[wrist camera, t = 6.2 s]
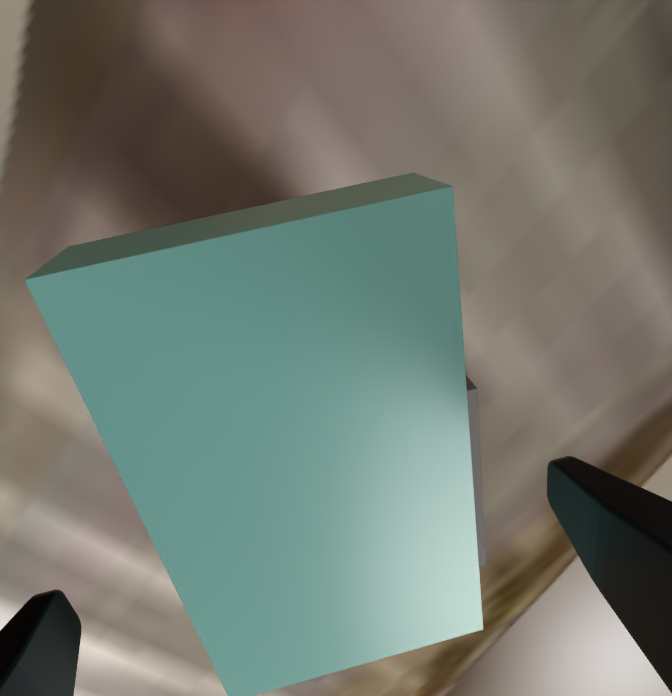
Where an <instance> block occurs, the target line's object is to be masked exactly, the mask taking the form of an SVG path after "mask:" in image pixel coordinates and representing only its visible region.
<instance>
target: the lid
mask: <svg viewBox="0 0 672 696" xmlns="http://www.w3.org/2000/svg"><path fill="white" fill-rule="evenodd" d="M25 281H26V283H27V286H28V288H29V290H30V292H31V294H32V296H33V298H34V300H35V302H36V304H37V306H38V308H39V310H40V312H41V314H42V316H43V318H44V320H45V322H46V324H47V326H48V329H49V331H50V333H51V335H52V337H53V339H54V341H55V343H56V345H57V347H58V349H59V351H60V353H61V355H62V357H63V359H64V361H65V363H66V365H67V367H68V369H69V372H70V374H71V376H72V378H73V380H74V382H75V384H76V386H77V388H78V390H79V392H80V394H81V396H82V398H83V400H84V402H85V404H86V406H87V408H88V410H89V412H90V414H91V417H92V419H93V421H94V423H95V425H96V427H97V429H98V431H99V433H100V435H101V437H102V439H103V441H104V443H105V445H106V447H107V449H108V451H109V453H110V455H111V457H112V460H113V462H114V464H115V466H116V468H117V470H118V472H119V474H120V476H121V478H122V480H123V482H124V484H125V486H126V488H127V490H128V492H129V494H130V496H131V498H132V500H133V503H134V505H135V507H136V509H137V511H138V513H139V515H140V517H141V519H142V521H143V523H144V525H145V527H146V529H147V531H148V533H149V535H150V537H151V539H152V541H153V543H154V545H155V548H156V550H157V552H158V554H159V556H160V558H161V560H162V562H163V564H164V566H165V568H166V570H167V572H168V574H169V576H170V578H171V580H172V582H173V584H174V586H175V588H176V591H177V593H178V595H179V597H180V599H181V601H182V603H183V605H184V607H185V609H186V611H187V613H188V615H189V617H190V619H191V621H192V623H193V625H194V627H195V629H196V631H197V634H198V636H199V638H200V640H201V642H202V644H203V646H204V648H205V650H206V652H207V654H208V656H209V658H210V660H211V662H212V664H213V666H214V668H215V670H216V672H217V674H218V676H219V679H220V681H221V683H222V685H223V687H224V689H225V691H226V693H227V695H228V696H253V695H257V694H260V693H264V692H267V691H271V690H274V689H278V688H281V687H285V686H288V685H292V684H295V683H299V682H302V681H306V680H309V679H312V678H316V677H319V676H323V675H326V674H330V673H333V672H337V671H340V670H344V669H347V668H351V667H354V666H358V665H361V664H365V663H368V662H371V661H375V660H378V659H382V658H385V657H389V656H392V655H396V654H399V653H403V652H406V651H410V650H413V649H417V648H420V647H424V646H427V645H430V644H434V643H437V642H441V641H444V640H448V639H451V638H455V637H458V636H462V635H465V634H469V633H472V632H476V631H479V630H483V621H482V606H481V591H480V577H479V562H478V547H477V533H476V518H475V504H474V489H473V474H472V460H471V445H470V431H469V416H468V401H467V387H466V372H465V358H464V343H463V328H462V314H461V299H460V285H459V270H458V255H457V241H456V226H455V211H454V197H453V186H450V185H448V184H445V183H442V182H439V181H436V180H433V179H430V178H427V177H424V176H421V175H419V174H416V173H409V174H404V175H400V176H395V177H390V178H386V179H381V180H376V181H372V182H367V183H362V184H358V185H353V186H348V187H344V188H339V189H334V190H330V191H325V192H320V193H316V194H311V195H307V196H302V197H297V198H293V199H288V200H283V201H279V202H274V203H269V204H265V205H260V206H255V207H251V208H246V209H241V210H237V211H232V212H227V213H223V214H218V215H213V216H209V217H204V218H200V219H195V220H190V221H186V222H181V223H176V224H172V225H167V226H162V227H158V228H153V229H148V230H144V231H139V232H134V233H130V234H125V235H120V236H116V237H111V238H107V239H102V240H97V241H93V242H88V243H83V244H79V245H74V246H69V247H67V248H66V249H65V250H63V251H62V252H61V253H59V254H58V255H57V256H55V257H54V258H53V259H51V260H50V261H49V262H47V263H46V264H45V265H44V266H42V267H41V268H40V269H38V270H37V271H36V272H34V273H33V274H32V275H30V276H29V277H28V278H26V279H25Z"/></svg>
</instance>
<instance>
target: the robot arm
mask: <svg viewBox="0 0 672 696" xmlns="http://www.w3.org/2000/svg"><path fill="white" fill-rule="evenodd" d="M547 497H548V501H549V503H550V506H551V508H552V509H553V511H554V513H555V515H556V516H557V518H558V520H559V522H560V524H561V525H562V527H563V529H564V531H565V532H566V534H567V536H568V538H569V540H570V541H571V543H572V545H573V547H574V548H575V550H576V552H577V554H578V556H579V557H580V559H581V561H582V563H583V564H584V566H585V568H586V570H587V571H588V573H589V575H590V576H591V578H592V580H593V581H594V583H595V584H596V586H597V587H598V589H599V590H600V592H601V593H602V595H603V596H604V598H605V599H606V600H607V602H608V603H609V605H610V606H611V608H612V609H613V610H614V612H615V613H616V615H617V616H618V618H619V619H620V620H621V622H622V623H623V624H624V626H625V627H626V629H627V630H628V632H629V633H630V635H631V636H632V637H633V639H634V640H635V642H636V643H637V645H638V646H639V647H640V649H641V650H642V652H643V653H644V654H645V656H646V657H647V659H648V660H649V662H650V663H651V664H652V666H653V667H654V669H655V670H656V672H657V673H658V674H659V676H660V677H661V679H662V680H663V682H664V683H665V684H666V686H667V687H668V689H669V690H670V692H671V693H672V501H669V500H667V499H665V498H663V497H661V496H658V495H656V494H654V493H652V492H649V491H648V490H645V489H643V488H641V487H639V486H637V485H634V484H632V483H630V482H628V481H626V480H623V479H621V478H619V477H617V476H615V475H612V474H610V473H608V472H606V471H604V470H601V469H599V468H597V467H595V466H593V465H590V464H588V463H586V462H584V461H582V460H579V459H577V458H575V457H572V456H566V457H562V458H559V459H555V460H552V461H550V462H549V464H548V472H547ZM80 638H81V622H80V619H79V617H78V615H77V613H76V612H75V610H74V609H73V607H72V606H71V604H70V602H69V601H68V599H67V598H66V596H65V595H64V593H63V592H62V591H60V590H52V591H48V592H44V593H40V594H37V595H35V596H33V597H32V598H31V599H29V600H28V601H27V603H26V604H25V605H24V606H23V607H22V608H21V609H20V610H19V611H18V612H17V613H16V614H15V616H14V617H13V618H12V619H11V620H10V621H9V622H8V623H7V624H6V625H5V626H4V628H3V629H2V630H1V631H0V696H73V694H74V686H75V678H76V670H77V662H78V654H79V646H80Z"/></svg>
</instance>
